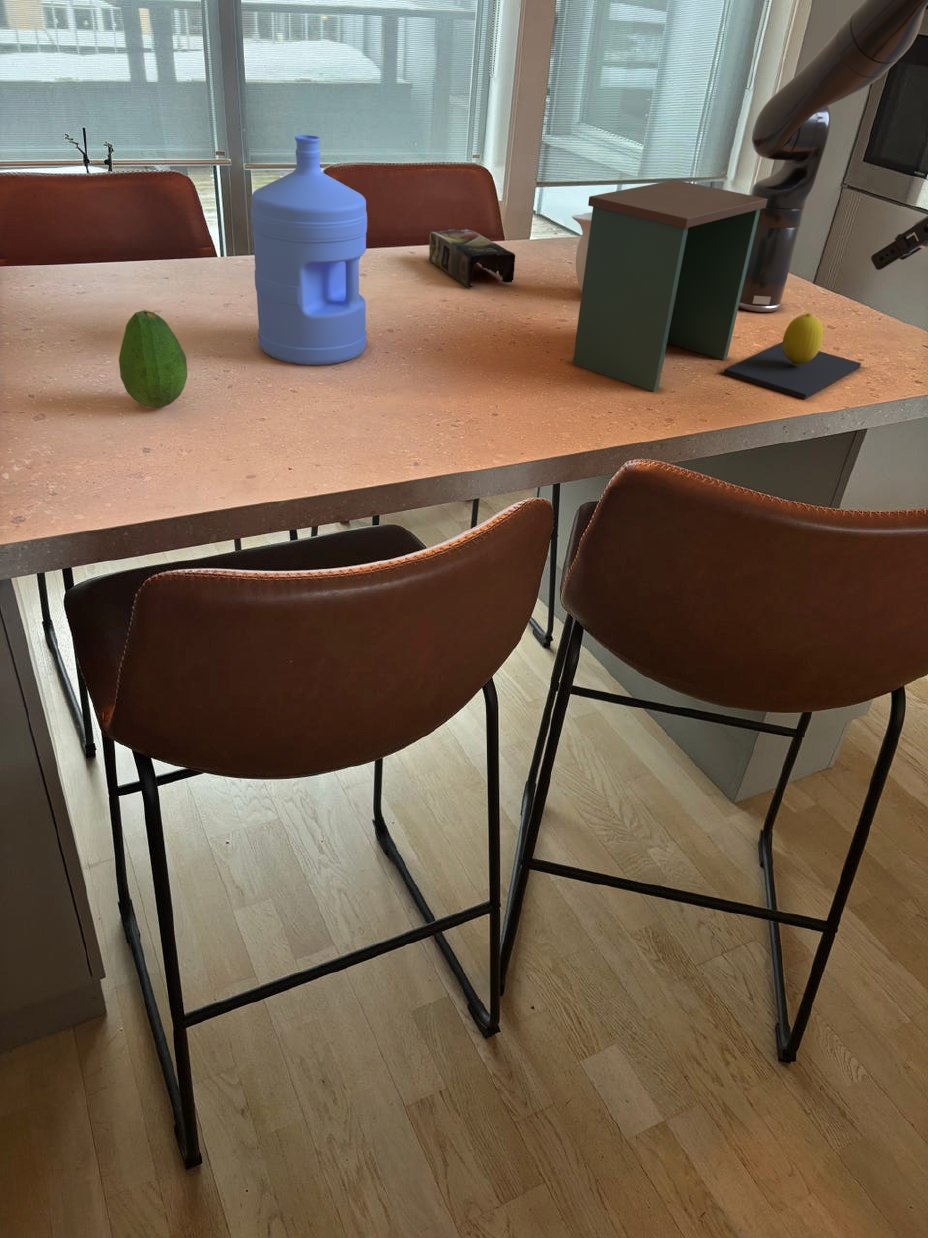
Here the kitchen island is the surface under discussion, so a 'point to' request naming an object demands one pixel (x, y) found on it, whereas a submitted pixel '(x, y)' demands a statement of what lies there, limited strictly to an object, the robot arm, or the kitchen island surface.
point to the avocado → (152, 361)
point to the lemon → (802, 339)
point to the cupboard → (662, 276)
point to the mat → (792, 371)
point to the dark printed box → (469, 255)
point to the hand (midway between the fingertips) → (886, 258)
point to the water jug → (309, 264)
